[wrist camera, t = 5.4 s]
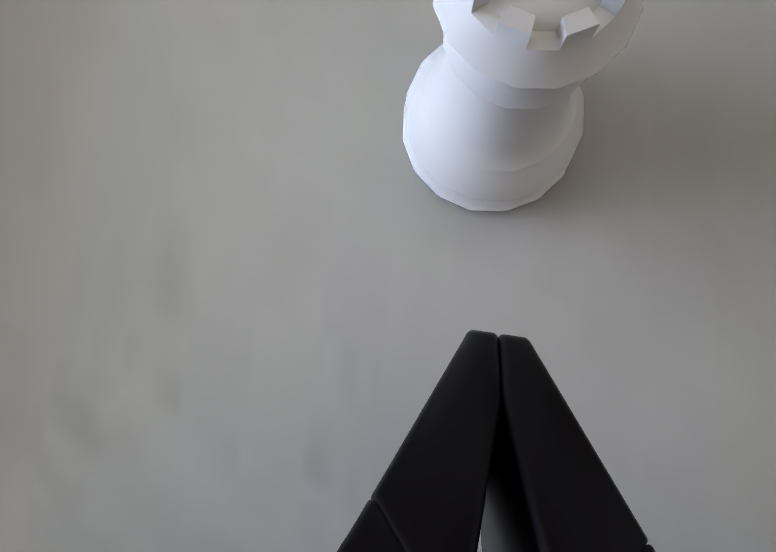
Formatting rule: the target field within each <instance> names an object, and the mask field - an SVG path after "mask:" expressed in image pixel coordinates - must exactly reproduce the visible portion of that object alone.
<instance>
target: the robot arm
mask: <svg viewBox="0 0 776 552" xmlns="http://www.w3.org/2000/svg"><path fill="white" fill-rule="evenodd" d="M480 530H481V543H482V552H655V550H654V549H653V547H652V546H651V545H649V544H648V545H646V544H647V542H648V540H647V537H646V536H645V534H644V532H643V531H642V529H641V527H640V526H639V524H638V522H637V520H636V519H635V517H634V515H633V514H632V512H631V510H630V509H629V507H628V505H627V504H626V502H625V500H624V499H623V497H622V495H621V494H620V492H619V490H618V489H617V487H616V485H615V484H614V482H613V480H612V479H611V477H610V475H609V474H608V472H607V470H606V468H605V467H604V465H603V463H602V462H601V460H600V458H599V457H598V455H597V453H596V452H595V450H594V448H593V447H592V445H591V443H590V442H589V440H588V438H587V437H586V435H585V433H584V432H583V430H582V428H581V427H580V425H579V423H578V421H577V420H576V418H575V416H574V415H573V413H572V411H571V410H570V408H569V406H568V405H567V403H566V401H565V400H564V398H563V396H562V395H561V393H560V391H559V390H558V388H557V386H556V385H555V383H554V381H553V380H552V378H551V376H550V374H549V373H548V371H547V369H546V368H545V366H544V364H543V363H542V361H541V359H540V358H539V356H538V354H537V353H536V351H535V349H534V348H533V346H532V344H531V343H530V341H529V340H528V339H527V338H524V337H518V336H511V335H500V336H499V337H497V335H496V334H495V333H490V332H483V331H477V330H471V331H469V332H468V333H467V334H466V336H465V338H464V340H463V341H462V343H461V345H460V346H459V348H458V350H457V351H456V353H455V355H454V357H453V358H452V360H451V362H450V363H449V365H448V367H447V368H446V370H445V372H444V374H443V375H442V377H441V379H440V380H439V382H438V384H437V386H436V387H435V389H434V391H433V392H432V394H431V396H430V397H429V399H428V401H427V403H426V404H425V406H424V408H423V409H422V411H421V413H420V414H419V416H418V418H417V420H416V421H415V423H414V425H413V426H412V428H411V430H410V431H409V433H408V435H407V437H406V438H405V440H404V442H403V443H402V445H401V447H400V448H399V450H398V452H397V454H396V455H395V457H394V459H393V460H392V462H391V464H390V465H389V467H388V469H387V471H386V472H385V474H384V476H383V477H382V479H381V481H380V482H379V484H378V486H377V488H376V489H375V491H374V493H373V494H372V496H371V500H369V501H368V502H367V504H366V506H365V507H364V509H363V511H362V512H361V514H360V516H359V517H358V519H357V521H356V522H355V524H354V526H353V527H352V529H351V530H350V532H349V533H348V535H347V537H346V538H345V540H344V541H343V543H342V544H341V546H340V548H339V549H338V551H337V552H477V548H478V542H479V536H480ZM645 545H646V546H645Z"/></svg>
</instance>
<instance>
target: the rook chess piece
mask: <svg viewBox="0 0 776 552" xmlns="http://www.w3.org/2000/svg"><path fill="white" fill-rule="evenodd" d="M433 6H434V9H435V12H436V14H437V17H438V19H439V22H440V24H441V27H442V29H443V32H444V40H443V43H442V44H441V45H440V46H439V47H438V48H437V49H436V50H435V51H434V52H432V53H431V54H430V55H429V56H428V57H427V58H426V59H425V60H424V61H423V62H422V63H421V65H420V67H419V69H418V71H417V73H416V75H415V77H414V80H413V82H412V84H411V86H410V88H409V90H408V92H407V94H406V104H405V106H404V122H403V142H404V144H405V147H406V150H407V152H408V155H409V158H410V160H411V163H412V166H413V168H414V171H415V172H416V173H417V174H418V175H419V176H420V177H421V178H422V180H423V181H424V182H425V183H426V184H427V185H428V186H429V187H430V188H431V189H432V190H433V191H434V192H435V193H436V194H437V195H438V196H439V197H441V198H444V199H446V200H448V201H450V202H453V203H455V204H457V205H459V206H462V207H464V208H466V209H468V210H478V211H508V210H510V209H513V208H516V207H518V206H521V205H524V204H527V203H529V202H532V201H535V200H538V199H539V198H540V197H541V196H542V195H543V194H544V193H545V192H546V191H547V190H549V189H550V188H551V187H552V186H553V185H554V184H555V183H556V182H557V181H558V180H559V179H560V178H562V177H563V175H564V173H565V171H566V169H567V166H568V165H569V164H570V162H571V159H572V157H573V155H574V153H575V150H576V148H577V146H578V144H579V142H580V139H581V137H582V135H583V108H584V97H583V92H582V90H581V87H580V85H581V84H582V83H583V82H584V81H585V80H586V79H587V78H588V77H590V76H593V75H596V74H597V73H598V72H599V71H600V70H601V69H602V68H604V67H605V66H606V65H607V64H608V63H609V62H610V61H611V60H612V59H613V58H614V57H616V56H617V55H618V54H619V53H620V52H621V51H622V50H623V49H624V48H625V47H626V46H627V44H628V42H629V40H630V37H631V35H632V33H633V31H634V29H635V26H636V24H637V22H638V20H639V17H640V15H641V13H642V11H643V0H433Z"/></svg>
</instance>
